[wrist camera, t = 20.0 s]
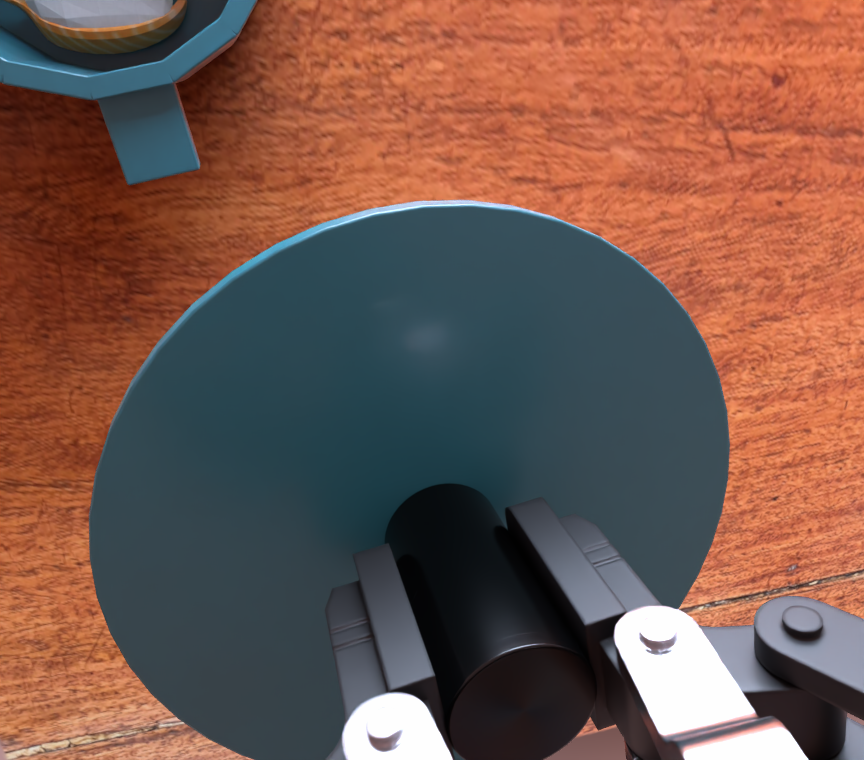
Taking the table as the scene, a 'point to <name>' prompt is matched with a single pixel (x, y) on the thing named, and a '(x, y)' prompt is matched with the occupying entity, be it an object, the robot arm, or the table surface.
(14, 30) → the pot
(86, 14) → the sushi
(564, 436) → the lid
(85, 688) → the table surface
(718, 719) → the robot arm
